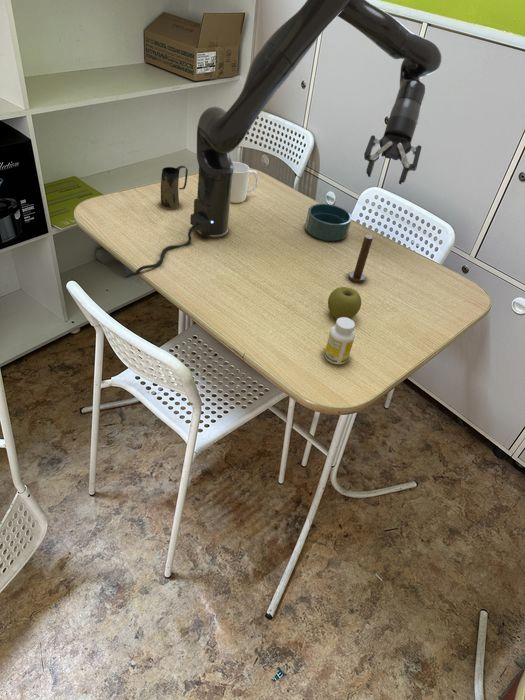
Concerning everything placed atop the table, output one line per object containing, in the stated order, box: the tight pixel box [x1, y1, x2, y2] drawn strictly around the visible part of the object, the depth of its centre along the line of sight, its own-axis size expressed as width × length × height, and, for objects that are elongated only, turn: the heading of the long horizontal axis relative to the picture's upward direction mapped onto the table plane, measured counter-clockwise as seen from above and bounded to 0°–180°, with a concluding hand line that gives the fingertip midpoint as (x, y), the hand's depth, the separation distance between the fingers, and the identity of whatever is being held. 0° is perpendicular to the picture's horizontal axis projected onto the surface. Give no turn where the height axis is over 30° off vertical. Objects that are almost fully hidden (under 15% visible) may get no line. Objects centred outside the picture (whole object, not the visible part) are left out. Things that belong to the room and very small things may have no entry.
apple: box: [327, 286, 362, 320], centre depth 126 cm, size 8×8×7 cm
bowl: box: [304, 203, 352, 242], centre depth 158 cm, size 13×13×6 cm
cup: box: [230, 161, 259, 204], centre depth 167 cm, size 8×12×10 cm
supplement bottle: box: [324, 317, 356, 365], centre depth 113 cm, size 5×5×10 cm
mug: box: [160, 165, 189, 211], centre depth 156 cm, size 8×6×12 cm
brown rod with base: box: [348, 234, 374, 284], centre depth 138 cm, size 4×4×13 cm
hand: (384, 179), depth 140 cm, fingers open, 8 cm apart
